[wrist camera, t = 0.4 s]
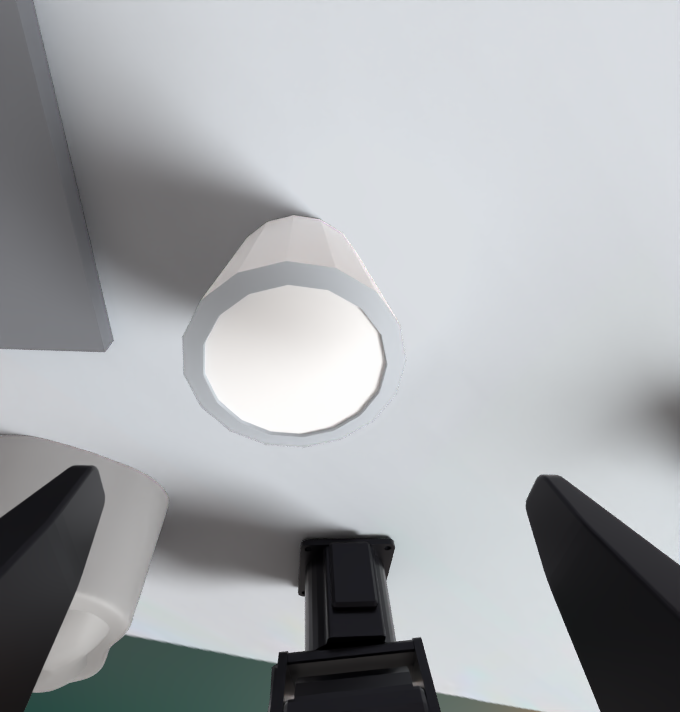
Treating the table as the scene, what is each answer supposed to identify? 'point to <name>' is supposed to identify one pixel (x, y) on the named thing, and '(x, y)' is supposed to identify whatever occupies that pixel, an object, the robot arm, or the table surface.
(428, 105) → the table surface
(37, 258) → the charcoal mat
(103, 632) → the lumpy-topped squat cylinder
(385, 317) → the shot glass
